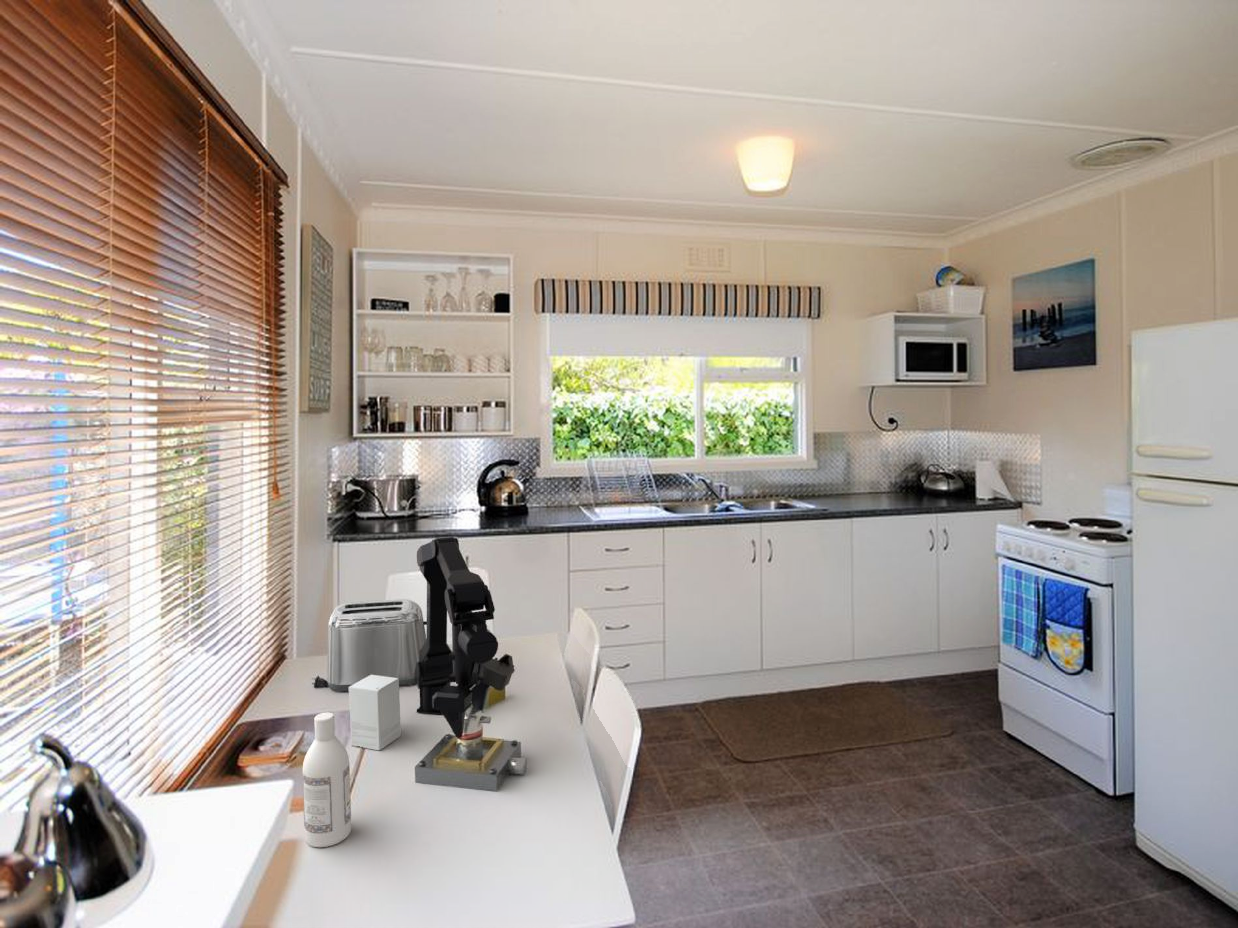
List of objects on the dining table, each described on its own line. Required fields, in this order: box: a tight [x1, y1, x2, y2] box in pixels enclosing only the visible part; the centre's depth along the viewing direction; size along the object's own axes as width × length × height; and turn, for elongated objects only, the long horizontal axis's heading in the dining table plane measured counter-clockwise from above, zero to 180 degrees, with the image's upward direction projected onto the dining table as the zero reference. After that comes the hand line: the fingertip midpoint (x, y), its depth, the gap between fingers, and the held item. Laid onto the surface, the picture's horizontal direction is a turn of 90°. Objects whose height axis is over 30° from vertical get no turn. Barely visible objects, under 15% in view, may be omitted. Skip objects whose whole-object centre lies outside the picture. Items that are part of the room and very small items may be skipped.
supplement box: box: [348, 675, 402, 751], centre depth 143 cm, size 7×7×13 cm
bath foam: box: [301, 711, 352, 848], centre depth 110 cm, size 7×7×20 cm
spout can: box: [456, 708, 492, 760], centre depth 131 cm, size 7×5×8 cm
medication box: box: [469, 686, 506, 711], centre depth 160 cm, size 12×3×4 cm, turn 146°
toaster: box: [311, 598, 427, 693], centre depth 176 cm, size 17×30×19 cm, turn 104°
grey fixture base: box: [414, 733, 528, 792], centre depth 131 cm, size 19×13×4 cm
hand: (469, 726), depth 131 cm, fingers open, 9 cm apart
